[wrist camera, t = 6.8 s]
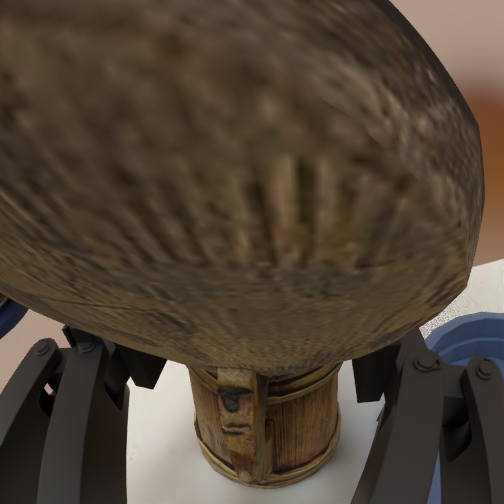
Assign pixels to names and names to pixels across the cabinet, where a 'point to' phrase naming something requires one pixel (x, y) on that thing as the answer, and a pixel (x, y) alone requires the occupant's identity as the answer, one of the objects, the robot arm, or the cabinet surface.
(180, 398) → the cabinet surface
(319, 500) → the cabinet surface
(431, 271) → the wooden mug
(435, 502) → the bowl
